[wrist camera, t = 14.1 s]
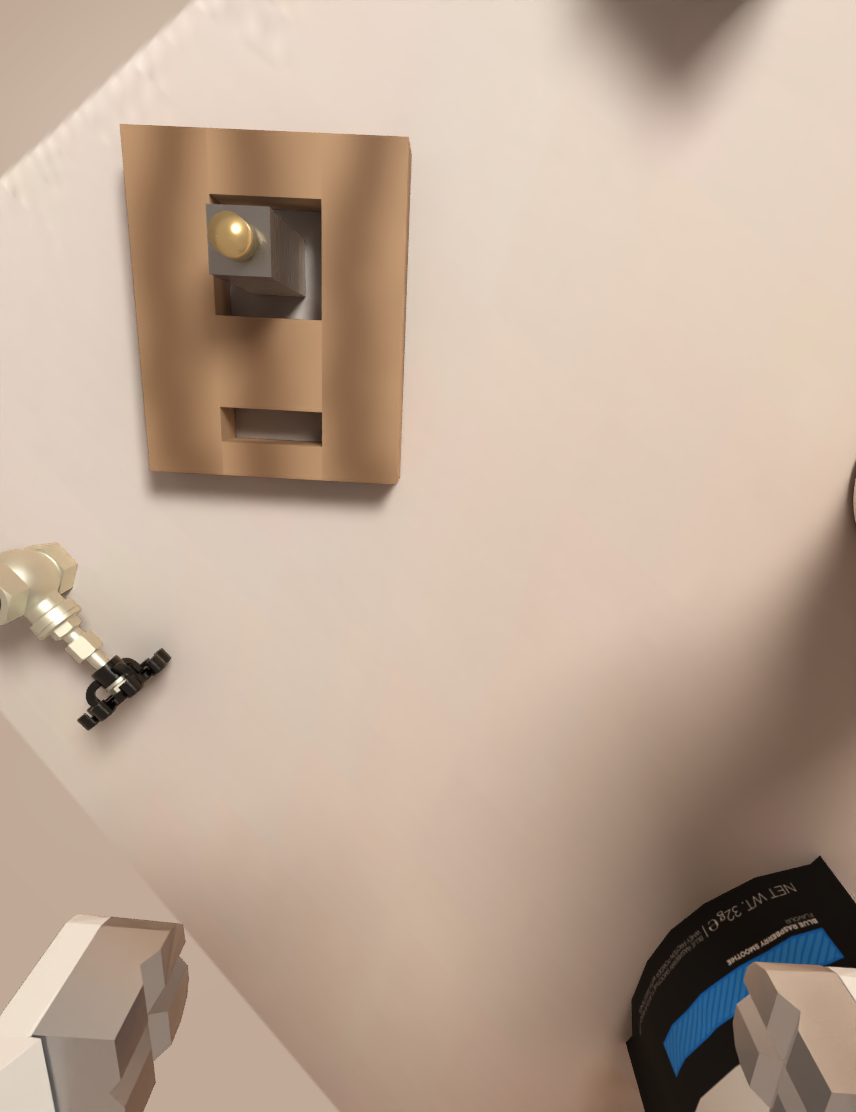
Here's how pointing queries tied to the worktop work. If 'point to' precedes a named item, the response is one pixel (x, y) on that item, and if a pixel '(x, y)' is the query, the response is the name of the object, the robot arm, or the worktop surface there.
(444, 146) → the worktop surface
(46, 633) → the valve
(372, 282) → the socket block
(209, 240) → the square bit
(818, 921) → the protein powder
